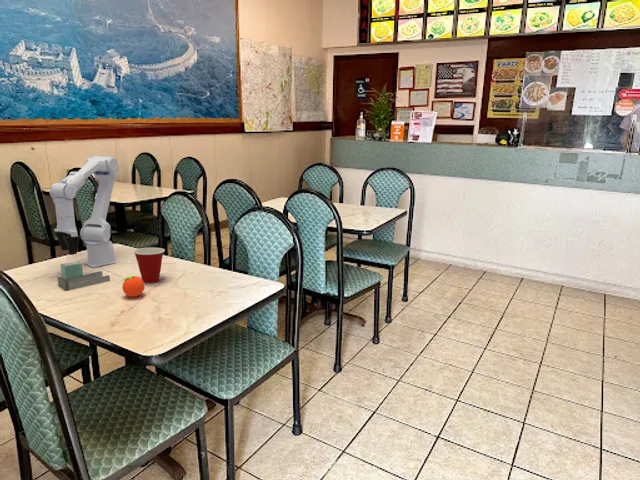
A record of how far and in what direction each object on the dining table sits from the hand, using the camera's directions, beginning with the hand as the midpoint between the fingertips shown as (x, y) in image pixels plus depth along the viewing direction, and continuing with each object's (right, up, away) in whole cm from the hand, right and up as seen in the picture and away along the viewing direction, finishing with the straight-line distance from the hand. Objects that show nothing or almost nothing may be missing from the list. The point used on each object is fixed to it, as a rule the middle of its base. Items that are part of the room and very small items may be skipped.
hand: (69, 252), depth 167 cm
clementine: (+29, -15, -14) cm, 36 cm away
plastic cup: (+30, -11, +1) cm, 32 cm away
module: (0, -9, +3) cm, 10 cm away
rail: (+8, -11, -3) cm, 14 cm away
